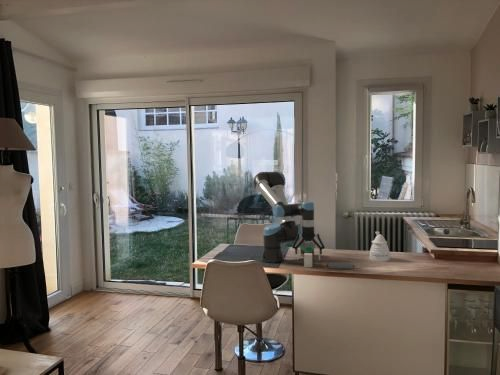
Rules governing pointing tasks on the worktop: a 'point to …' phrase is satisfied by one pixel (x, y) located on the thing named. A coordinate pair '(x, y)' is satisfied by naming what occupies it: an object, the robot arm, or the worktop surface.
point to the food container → (307, 248)
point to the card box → (307, 259)
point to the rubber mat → (340, 265)
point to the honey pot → (379, 249)
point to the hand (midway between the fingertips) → (308, 259)
